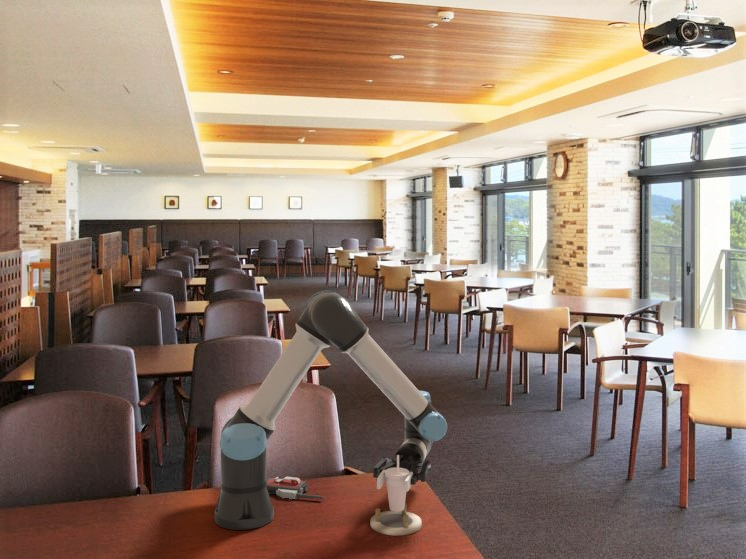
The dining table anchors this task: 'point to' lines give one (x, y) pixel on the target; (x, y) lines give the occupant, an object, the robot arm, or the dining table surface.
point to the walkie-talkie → (289, 488)
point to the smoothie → (396, 487)
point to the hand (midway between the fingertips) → (392, 485)
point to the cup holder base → (395, 522)
